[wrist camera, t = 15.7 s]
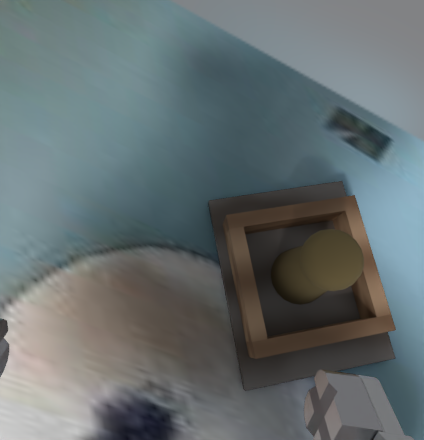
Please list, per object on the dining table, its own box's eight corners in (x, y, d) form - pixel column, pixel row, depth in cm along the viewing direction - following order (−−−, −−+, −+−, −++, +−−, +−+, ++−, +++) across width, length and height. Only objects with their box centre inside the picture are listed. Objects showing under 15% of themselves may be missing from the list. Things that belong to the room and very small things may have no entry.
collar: (390, 357, 40) (415, 360, 36) (243, 389, 38) (251, 396, 34) (338, 184, 45) (355, 168, 41) (208, 203, 43) (211, 189, 39)
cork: (330, 258, 41) (381, 232, 31) (319, 312, 40) (369, 303, 29) (278, 241, 42) (311, 210, 31) (264, 294, 40) (294, 279, 29)
